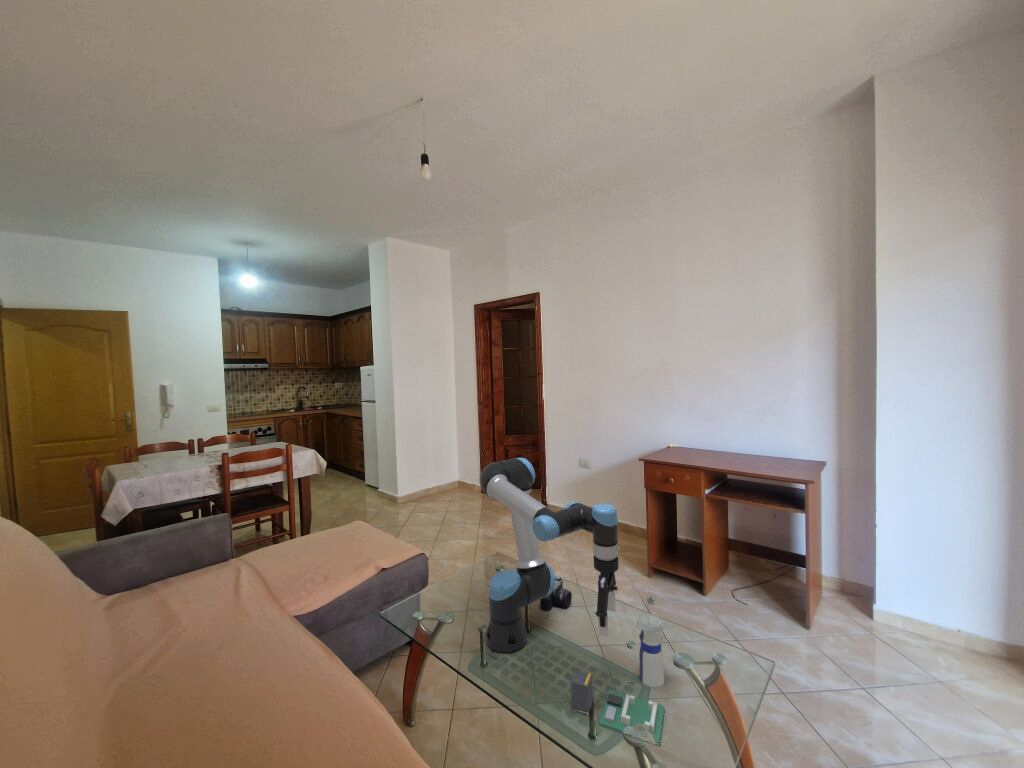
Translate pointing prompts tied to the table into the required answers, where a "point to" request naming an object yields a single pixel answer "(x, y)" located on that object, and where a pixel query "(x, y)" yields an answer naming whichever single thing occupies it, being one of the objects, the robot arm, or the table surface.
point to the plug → (582, 691)
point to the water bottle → (651, 650)
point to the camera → (556, 596)
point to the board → (631, 714)
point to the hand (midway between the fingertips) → (607, 622)
